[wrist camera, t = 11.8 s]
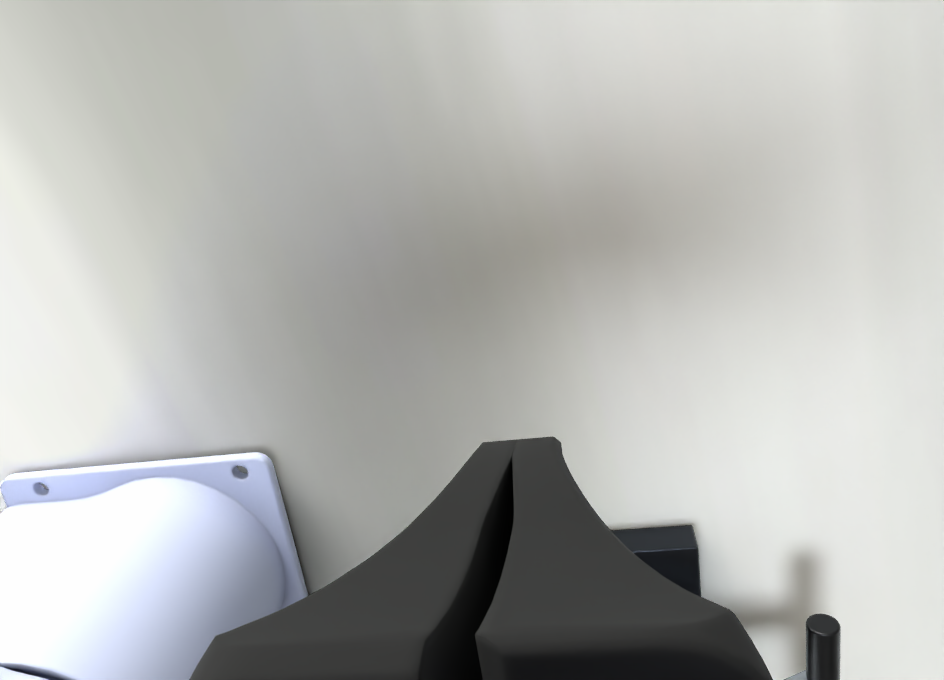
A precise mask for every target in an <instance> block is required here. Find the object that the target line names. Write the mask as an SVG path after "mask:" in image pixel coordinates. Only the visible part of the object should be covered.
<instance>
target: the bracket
mask: <svg viewBox="0 0 944 680" xmlns="http://www.w3.org/2000/svg"><path fill="white" fill-rule="evenodd" d="M612 533H613V534H614V535H615V536H616V537H617V538H618V539H619V540H620V541H621V542H622V543H623V544H624V545H625V546H626V547H627V548H628V549H629V550H631V551H632V552H633V553H634V554H635V555H636V556H637V557H638V558H639V559H641V560H642V561H643V562H644V563H646V564H647V565H648V566H650V567H651V568H652V569H654V570H655V571H657V572H658V573H659V574H661V575H662V576H663V577H665V578H667V579H668V580H670V581H672V582H673V583H675V584H677V585H678V586H680V587H682V588H684V589H685V590H687V591H689V592H691V593H693V594H695V595H698V596H700V597H701V587H700V571H699V554H698V545H697V541H696V538H695V534H694V530H693V527H692V525H685V526H671V527H656V528H641V529H626V530H612Z"/></svg>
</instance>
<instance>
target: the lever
mask: <svg viewBox="0 0 944 680" xmlns="http://www.w3.org/2000/svg"><path fill="white" fill-rule="evenodd" d="M784 680H840V624H839V623H838V621H837V620H836V619H835V618H833V617H832V616H829V615H826V614H814V615H811V616H810V617H809V618H808V619H807V621H806V670H804V671H802V672H800V673H798V674H795V675H793V676H791V677H789V678H786V679H784Z"/></svg>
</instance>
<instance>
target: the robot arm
mask: <svg viewBox="0 0 944 680" xmlns="http://www.w3.org/2000/svg"><path fill="white" fill-rule="evenodd" d="M238 465H239V466H243V467H245V468H246V469H247V471H248V473H247V474H246V473H242V472H240V471H239V470H238V468H237V466H238ZM41 483H43V484H45V485H46V486H47V488H48V489H45V488H44V487H43V486H42V485H41ZM0 489H1V493H2V495H3V498H4V500H5V503H6V505H7V508H6V509H5V510H4V511H3V512H2V513H1V514H0V680H773V679H772V677H771V675H770V673H769V671H768V669H767V667H766V665H765V663H764V661H763V659H762V657H761V656H760V654H759V652H758V650H757V649H756V647H755V645H754V644H753V642H752V640H751V639H750V637H749V636H748V634H747V632H746V631H745V629H744V628H743V626H742V625H741V623H740V622H739V620H738V619H737V617H736V616H735V614H734V613H733V612H732V611H730V610H729V609H727V608H724V607H722V606H720V605H718V604H715V603H713V602H711V601H709V600H707V599H704V598H702V597H700V596H698V595H695V594H693V593H691V592H689V591H687V590H685V589H684V588H682V587H680V586H678V585H677V584H675V583H673V582H672V581H670V580H668V579H667V578H665V577H663V576H662V575H661V574H659V573H658V572H657V571H655V570H654V569H652V568H651V567H650V566H648V565H647V564H646V563H644V562H643V561H642V560H641V559H639V558H638V557H637V556H636V555H635V554H634V553H633V552H632V551H631V550H629V549H628V548H627V547H626V546H625V545H624V544H623V543H622V542H621V541H620V540H619V539H618V538H617V537H616V536H615V535H614V534H613V533H612V531H611V530H610V529H609V528H608V527H607V526H606V525H605V523H604V522H603V521H602V520H601V519H600V517H599V516H598V515H597V513H596V512H595V511H594V509H593V508H592V507H591V505H590V504H589V503H588V501H587V500H586V498H585V497H584V495H583V494H582V492H581V490H580V489H579V487H578V485H577V484H576V482H575V481H574V479H573V477H572V475H571V473H570V471H569V469H568V467H567V465H566V463H565V460H564V458H563V455H562V448H561V442H560V441H558V440H557V439H556V438H555V437H543V438H531V439H519V440H507V441H495V442H483V443H482V444H481V445H480V446H479V448H478V449H477V450H476V451H475V452H474V453H473V454H472V456H471V457H470V458H469V459H468V461H467V462H466V463H465V464H464V466H463V467H462V468H461V469H460V471H459V472H458V473H457V474H456V475H455V477H454V478H453V479H452V480H451V481H450V483H449V484H448V485H447V486H446V487H445V488H444V490H443V491H442V492H441V493H440V494H439V495H438V496H437V498H436V499H435V500H434V501H433V502H432V503H431V504H430V505H429V506H428V507H427V508H426V509H425V510H424V511H423V512H422V513H421V514H420V515H419V516H418V517H417V518H416V519H415V520H414V521H413V522H412V523H411V524H410V525H409V526H408V527H407V528H406V529H405V530H404V531H402V532H401V533H400V534H399V535H398V536H397V537H395V538H394V539H393V540H392V541H391V542H389V543H388V544H387V545H386V546H384V547H383V548H382V549H380V550H379V551H378V552H377V553H375V554H374V555H373V556H371V557H370V558H369V559H367V560H366V561H364V562H363V563H361V564H360V565H358V566H357V567H355V568H354V569H352V570H350V571H349V572H347V573H346V574H344V575H343V576H341V577H340V578H338V579H337V580H335V581H334V582H332V583H330V584H329V585H327V586H325V587H324V588H322V589H320V590H318V591H316V592H314V593H313V594H311V595H309V596H308V592H307V589H306V585H305V581H304V577H303V574H302V570H301V566H300V562H299V559H298V555H297V551H296V547H295V544H294V540H293V536H292V532H291V529H290V525H289V521H288V517H287V514H286V510H285V506H284V502H283V499H282V495H281V491H280V488H279V484H278V480H277V476H276V473H275V469H274V465H273V463H272V461H271V459H270V458H269V457H268V456H267V455H264V454H262V453H257V452H253V453H241V454H230V455H218V456H207V457H195V458H184V459H172V460H161V461H149V462H138V463H126V464H115V465H103V466H92V467H80V468H69V469H58V470H46V471H35V472H23V473H14V474H11V475H9V476H8V477H7V478H6V479H4V480H3V481H2V482H1V486H0Z"/></svg>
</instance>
